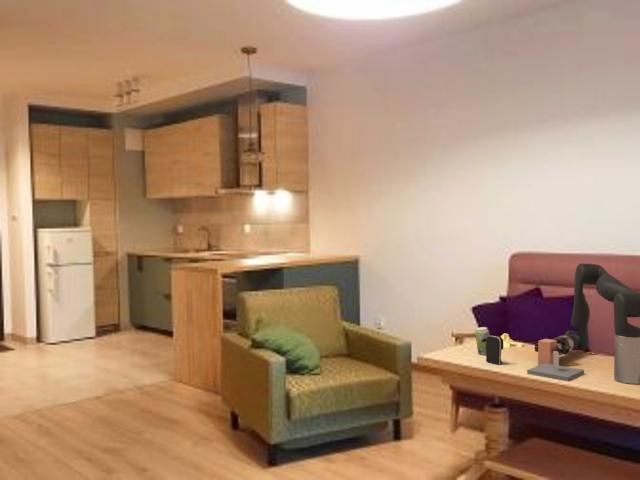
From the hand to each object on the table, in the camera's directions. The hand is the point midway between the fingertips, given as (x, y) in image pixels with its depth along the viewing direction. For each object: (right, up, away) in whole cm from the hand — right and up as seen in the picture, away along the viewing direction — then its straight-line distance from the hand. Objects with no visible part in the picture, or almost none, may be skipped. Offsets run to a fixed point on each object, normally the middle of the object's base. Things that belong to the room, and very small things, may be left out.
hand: (545, 350), depth 258 cm
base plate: (-1, -6, -14) cm, 15 cm away
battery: (-20, -6, +4) cm, 21 cm away
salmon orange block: (+1, -6, +2) cm, 6 cm away
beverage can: (-20, -5, +21) cm, 30 cm away
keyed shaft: (-1, -5, -14) cm, 15 cm away
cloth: (-5, -5, +43) cm, 43 cm away
